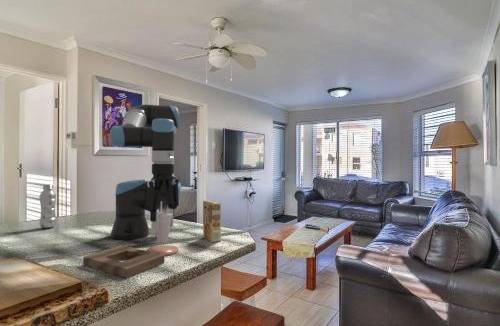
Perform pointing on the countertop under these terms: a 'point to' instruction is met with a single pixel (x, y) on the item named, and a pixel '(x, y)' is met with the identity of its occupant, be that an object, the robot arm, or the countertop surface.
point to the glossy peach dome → (164, 250)
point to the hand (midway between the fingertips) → (162, 228)
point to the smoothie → (163, 225)
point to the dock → (128, 268)
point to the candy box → (212, 221)
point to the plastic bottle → (47, 207)
